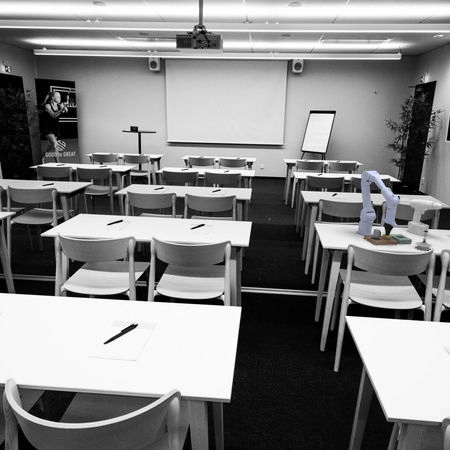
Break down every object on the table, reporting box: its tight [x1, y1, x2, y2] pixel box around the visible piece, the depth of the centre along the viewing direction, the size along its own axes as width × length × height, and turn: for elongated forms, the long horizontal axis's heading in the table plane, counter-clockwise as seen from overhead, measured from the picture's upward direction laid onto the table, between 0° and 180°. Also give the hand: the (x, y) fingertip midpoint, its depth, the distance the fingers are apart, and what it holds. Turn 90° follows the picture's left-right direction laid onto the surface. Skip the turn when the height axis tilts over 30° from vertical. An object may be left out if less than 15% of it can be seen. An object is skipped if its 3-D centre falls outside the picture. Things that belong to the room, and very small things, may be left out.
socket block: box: [363, 234, 398, 246], centre depth 265 cm, size 14×16×2 cm
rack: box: [390, 233, 413, 245], centre depth 268 cm, size 12×9×3 cm
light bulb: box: [414, 230, 433, 251], centre depth 254 cm, size 12×10×10 cm
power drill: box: [407, 198, 444, 237], centre depth 284 cm, size 8×24×25 cm, turn 27°
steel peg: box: [372, 228, 381, 240], centre depth 264 cm, size 4×4×8 cm
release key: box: [382, 233, 392, 239], centre depth 266 cm, size 4×4×4 cm
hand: (387, 234), depth 265 cm, fingers closed, pressing on release key
